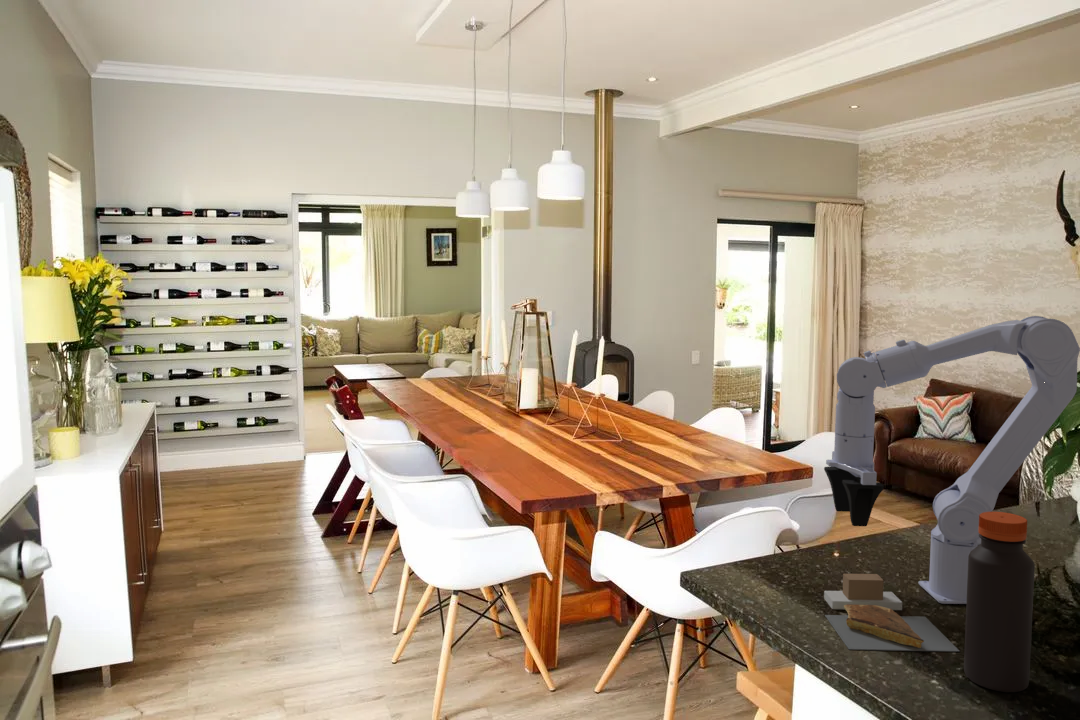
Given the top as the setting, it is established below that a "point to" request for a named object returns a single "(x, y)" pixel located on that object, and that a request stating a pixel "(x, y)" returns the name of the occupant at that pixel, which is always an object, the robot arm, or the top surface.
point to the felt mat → (872, 642)
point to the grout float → (862, 593)
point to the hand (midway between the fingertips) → (850, 518)
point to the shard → (881, 624)
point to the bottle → (999, 605)
